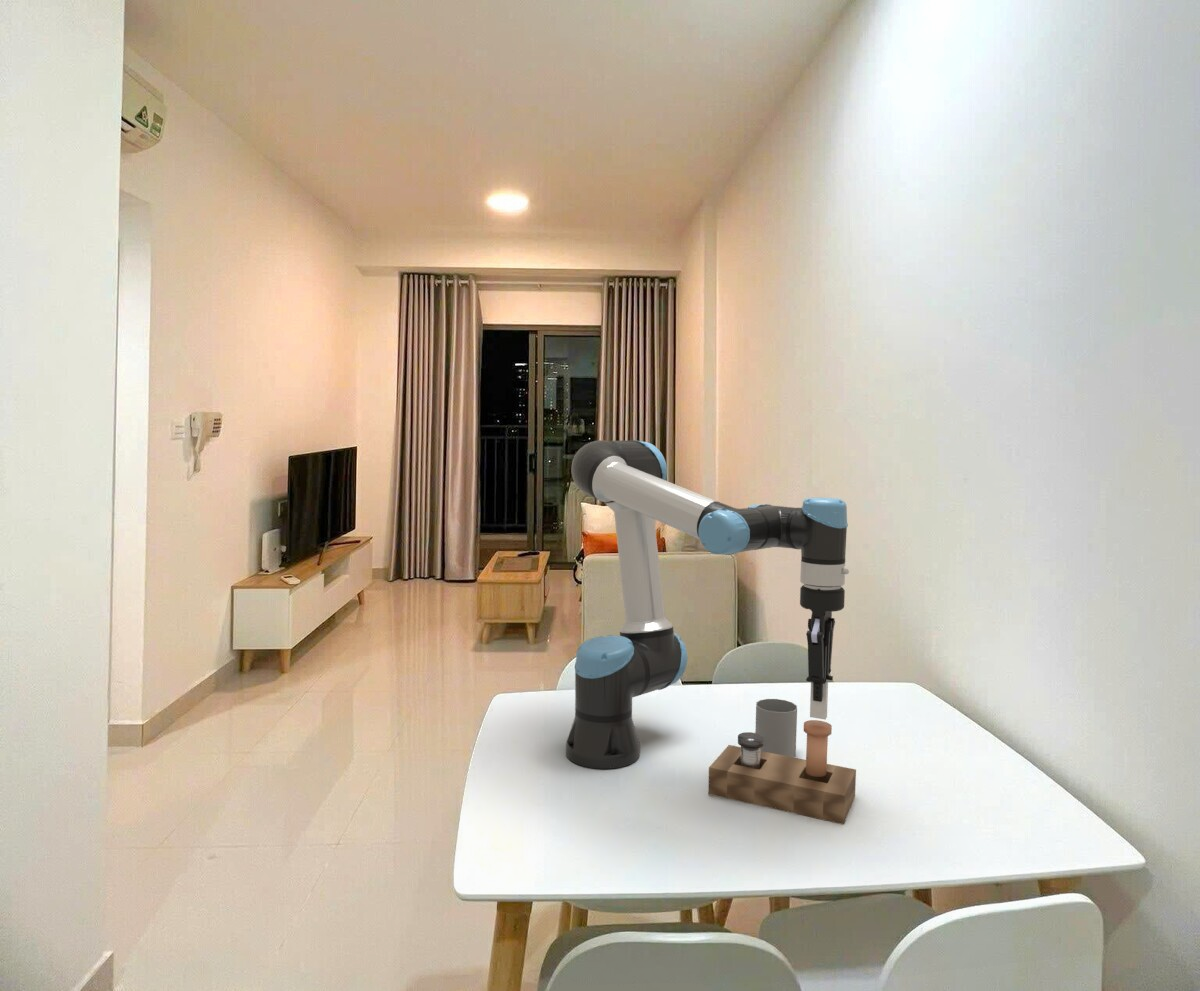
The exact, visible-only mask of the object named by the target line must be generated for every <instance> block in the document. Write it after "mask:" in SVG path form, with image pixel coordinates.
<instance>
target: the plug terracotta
mask: <svg viewBox="0 0 1200 991" xmlns="http://www.w3.org/2000/svg"><path fill="white" fill-rule="evenodd" d="M832 727H833V725H832V724H831V723H829V722H826V721H825V720H824V721H823V720H819V719H811V720H805V721H804V722H803V732H804V733H805V734H806V747H805V748H806V751H805V760H806V773H807V774H809V775H811V776H816V777H822V776H825V775H826V774H827V764H828V744H829V743H828V742H829V740H828V739H829V738H828V737H829V736H831V735H832V730H833V729H832Z"/></svg>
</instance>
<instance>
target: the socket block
mask: <svg viewBox="0 0 1200 991" xmlns="http://www.w3.org/2000/svg"><path fill="white" fill-rule="evenodd" d="M740 760H741V746H736V745H732V744H728V745H727V746H726V747H725V749H723V751H722V752H721V753H720V754H719V756H718V757H716V758H715V759H714V761H713V762H712V763H711V764H710V766H709V767H708V786H707V788H708V791H707V792H708V795H712V796H715V797H716V796H717V797H720V798H724V799H727V800H728V799H730V800H733V801H738V802H743V803H746V804H752V805H756V806H760V807H765V808H771V809H774V810H778V811H783V812H787V813H790V814H795V815H796V814H797V815H801V816H804V817H809V818H813V819H817V820H818V819H819V820H822V821H827V822H832V823H836V824H841V825H844V824H845V823H846V819H847V817H848V814H849V813H850V809H851V807H852V805H853V803H854V799H855V797H856V781H857V778H856V777H857V769H856V768H851V767H846V766H845V767H844V766H840V765H835V764H830V763H827V774H826V775H825V776H822V777H816V776H811V775H809V774H807V773H806V759H803V758H800V757H789V756H784V755H779V754H773V753H768V752H763V751H761V752H760V770H759V769H754V768H749V767H745V766H740Z"/></svg>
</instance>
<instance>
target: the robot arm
mask: <svg viewBox="0 0 1200 991" xmlns="http://www.w3.org/2000/svg"><path fill="white" fill-rule="evenodd" d="M666 462H667V461H666V459H665V457H664V455H663V453H662V451H660V450H659V448H657V447H656V446H655V445H654V444H652V443H650V442H648V441H647V442H646V441H641V440H636V439H633V440H630V439H629V440H604V439H603V440H602V439H601V440H594V441H591V442H588V443H586V444H584V445H583V446H581V447H580V448H579V449H578V451H576V453H575V455H574V456H573V458H572V462H571V468H570V469H571V470H570V471H571V476H572V480H573V482H574V484H575V486H577V488H578V490H580V491H582V493H584V494H585V495H587V496H589V497H592V498H594V499H596V500H598V501H600V502H603V503H606V506H607V507H608V508H609V509H610V510H611V511H613V513H614V514H613V516H614V523H615V532H616V534H615V535H616V541H617V550H618V552H617V553H618V562H619V571H620V581H621V591H622V600H623V609H624V618H625V619H624V620H625V621H624V623H623V625H622V626H621V628H620V629H619V635H615V634H611V635H610V634H609V635H605V636H603V635H600V636H596V637H593V638H589V639H587V640H585V641H583V642H581V643H580V645H579V646H578V647H577V649H576V656H575V663H574V671H575V675H574V676H575V678H574V679H575V681H574V682H575V683H574V684H575V686H574V687H575V692H574V694H575V696H574V697H575V698H574V700H575V701H574V702H575V705H574V706H575V708H574V710H575V712H574V719H573V722H572V725H571V728H570V731H569V734H568V737H567V740H566V743H565V744H566V746H565V756H566V757H567V759H569V760H570V762H572V763H574V764H576V765H579V766H581V767H585V768H592V769H599V770H601V769H602V770H604V769H605V770H607V769H617V768H623V767H626V766H630V765H632V764H633V763H635V762H636V761H638V760H639V759H640V756H641V743H640V739H639V737H638V733H637V730H636V727H635V724H634V720H633V698H635V697H638V696H641V695H645V694H648V693H651V692H655V691H660V690H661V691H662V690H664V689H666V688H668V687H669V686H671V685H673V684H676V683H677V682H678V681H679V680H680V679H681V678H682V677H683V676H684V673H685V672H686V670H687V664H688V651H687V648H686V647H687V646H686V645H685V642H684V641H683V640H681V639H682V638H681V637H680V635H679V634H677V633H676V632H674V625H673V623H672V622H670V620H668V619H667V618H666V616H665V615H666V614H665V605H664V597H663V587H662V578H661V568H660V567H661V566H660V559H659V558H660V557H659V548H658V540H657V533H656V532H657V531H656V521H658V522H660V523H662V524H664V525H667V526H669V527H671V528H673V529H676V530H677V531H680V532H683V533H684V534H686V535H687V534H688V535H689V536H691V537H693V538H696V539H698V540H699V541H700V543H701V544H702V546H703V547H704V548H705V550H706V551H707V552H710V553H711V554H713V555H724V556H725V555H726V556H727V555H728V556H729V555H731V556H732V555H736V554H738V553H745V552H749V551H750V552H751V551H757V550H764V549H771V548H783V549H792V550H800V553H801V559H800V578H799V580H800V583H801V584H802V585H801V586H800V590H799V591H800V593H799V596H800V597H799V604H800V605H799V606H801V607H802V608H803V609H805V610H809V611H811V616H810V617H811V618H808V619H807V631H806V639H807V641H806V642H807V659H808V660H807V665H808V667H807V670H808V676H807V677H806V679H805V681H806V682H810V701H809V702H810V704H809V718H813V719H817V720H819V719H820V720H824V721H826V720H827V718H828V701H829V700H828V698H829V697H828V695H829V681H833V679H834V676H833V675H830V674H831V672H832V668H831V666H832V654H833V641H834V631H835V630H834V629H835V624H836V621H835V618H834V617H832V616H833V613H834V612H839V611H842V610H843V609H844V608H845V597H846V596H845V594H846V593H845V592H846V591H845V589H844V587H843V586H844V585H845V582H846V580H845V579H846V575H849V573H850V570H849V569H848V568H845V566H846V551H847V550H846V549H847V534H848V533H847V530H848V529H847V528H848V525H849V524H848V514H847V512H848V510H847V509H848V508H847V507H848V506H847V503H846V502H845V501H844V500H843V499H842V498H835V497H807V498H805V499H804V500H803V501H802V506H801V507H791V506H783V505H782V506H780V505H772V504H770V503H767V504H766V503H765V504H751V505H749V506H748V507H746V508H745V507H744V508H736V507H733V506H731V505H728V504H725V503H722V502H720V501H718V500H716V499H713V498H710V497H708V496H705V495H704V494H701V493H697V492H696V491H693V490H691V489H688V488H685V487H682V486H680V485H678V484H675V483H673V482H670V481H668V480H667V476H668V466H667V463H666Z"/></svg>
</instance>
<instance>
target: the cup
mask: <svg viewBox="0 0 1200 991" xmlns="http://www.w3.org/2000/svg"><path fill="white" fill-rule="evenodd" d="M755 705H756V706H755V732H754V733H757V734H760V735H762V736H763V737H764V746H763V747H761V751H763V752H768V753H773V754H779V755H784V756H789V757H794V758H796V756H797V753H796V752H797V731H798V730H797V728H798V727H797V724H798V706H797V705H796V703H794V702H793V701H788V700H786V699H778V698H764V699H760V700H758V701H756V704H755Z"/></svg>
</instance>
